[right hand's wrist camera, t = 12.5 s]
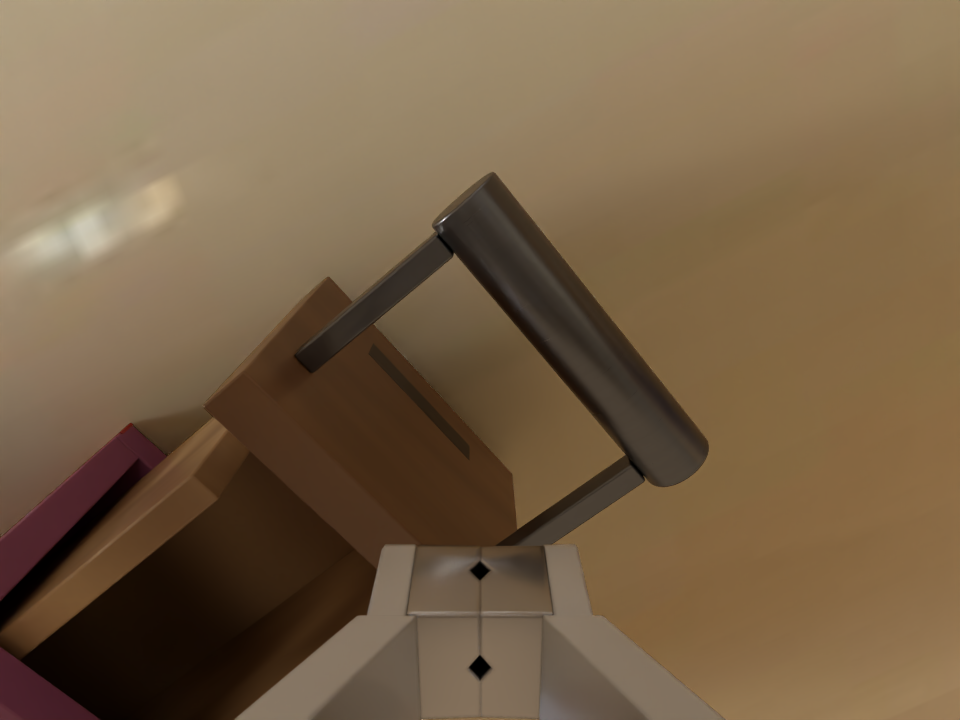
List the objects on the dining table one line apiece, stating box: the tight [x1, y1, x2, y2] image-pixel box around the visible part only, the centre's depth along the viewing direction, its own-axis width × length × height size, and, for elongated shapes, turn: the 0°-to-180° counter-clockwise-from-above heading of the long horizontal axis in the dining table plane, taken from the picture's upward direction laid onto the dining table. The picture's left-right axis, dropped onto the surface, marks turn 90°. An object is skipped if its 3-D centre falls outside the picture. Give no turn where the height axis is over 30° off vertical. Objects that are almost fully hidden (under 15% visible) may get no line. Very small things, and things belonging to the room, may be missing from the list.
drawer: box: [0, 172, 709, 720], centre depth 19 cm, size 25×9×8 cm, turn 130°
